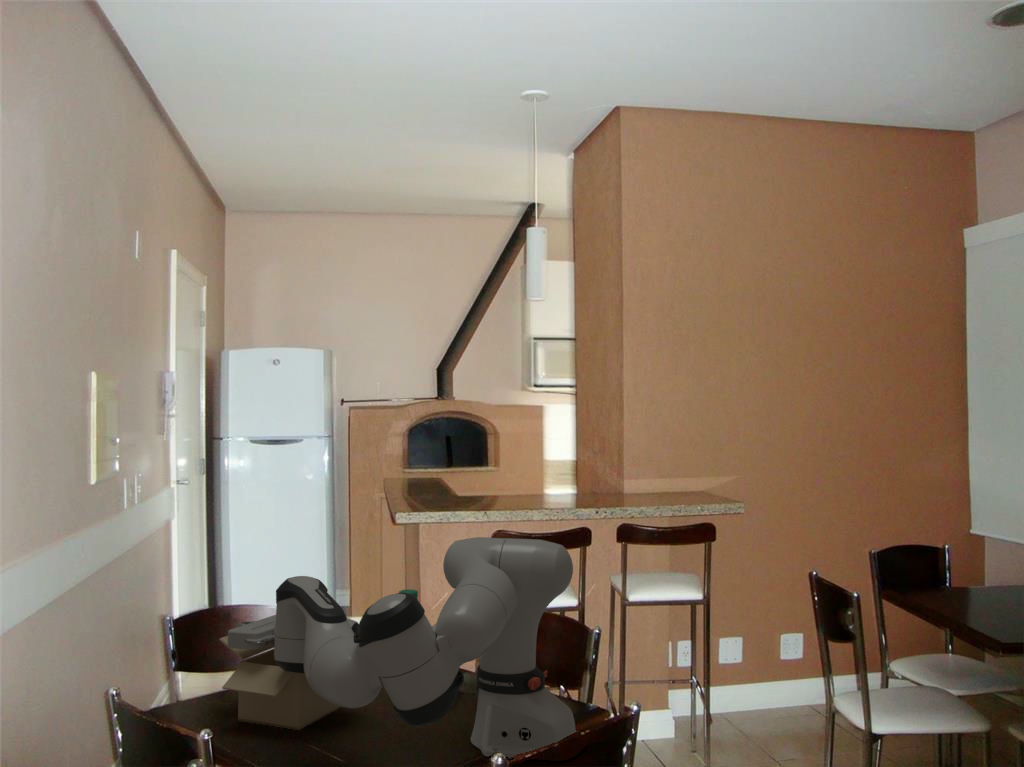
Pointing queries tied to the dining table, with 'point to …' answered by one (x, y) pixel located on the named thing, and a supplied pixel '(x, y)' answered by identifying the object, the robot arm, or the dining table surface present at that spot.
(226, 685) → the carton
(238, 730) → the dining table surface
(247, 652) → the flap
